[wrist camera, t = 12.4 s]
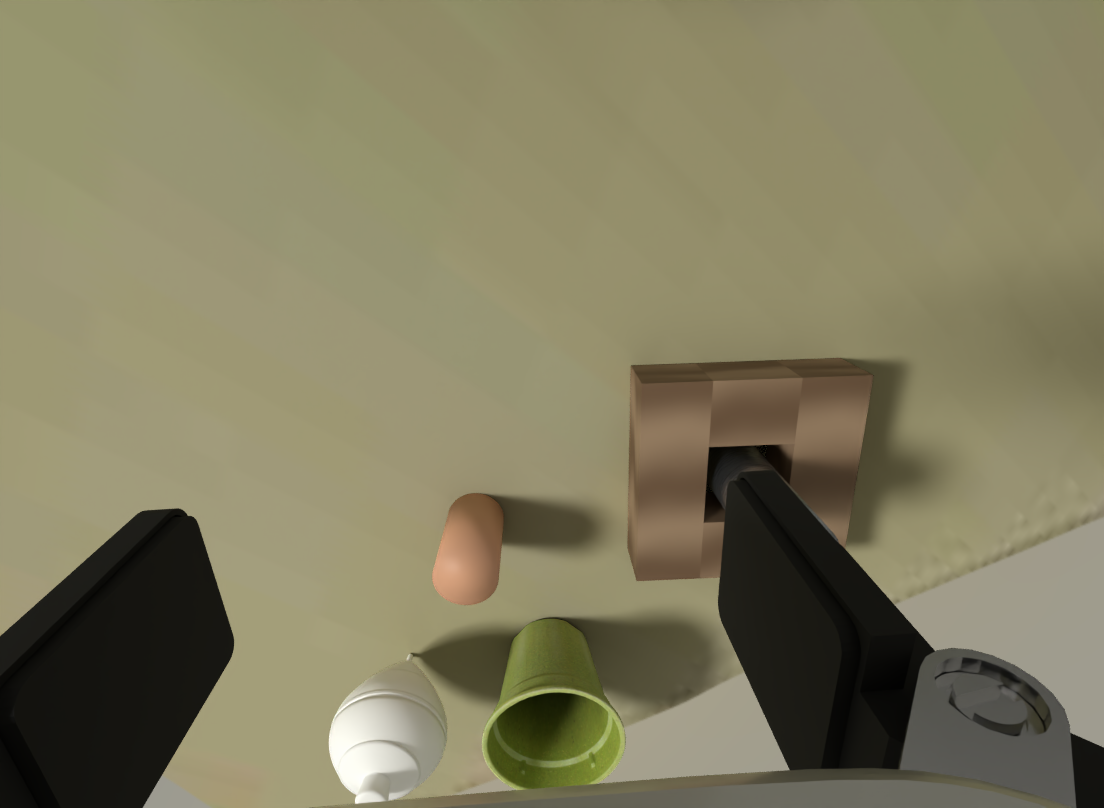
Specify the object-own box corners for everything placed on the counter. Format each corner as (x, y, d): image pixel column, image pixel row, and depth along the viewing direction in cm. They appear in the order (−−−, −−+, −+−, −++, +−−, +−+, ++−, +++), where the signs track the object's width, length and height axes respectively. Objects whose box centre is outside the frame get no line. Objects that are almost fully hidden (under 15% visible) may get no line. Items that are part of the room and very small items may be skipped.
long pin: (699, 432, 40) (766, 524, 29) (756, 430, 40) (845, 521, 29) (696, 484, 41) (758, 591, 30) (751, 482, 41) (834, 588, 30)
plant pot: (604, 592, 44) (620, 681, 36) (613, 687, 47) (630, 789, 39) (482, 606, 44) (471, 698, 36) (500, 700, 47) (493, 804, 39)
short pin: (445, 494, 41) (429, 550, 34) (502, 492, 41) (496, 548, 34) (450, 543, 42) (435, 606, 36) (505, 540, 42) (500, 603, 36)
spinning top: (475, 635, 45) (456, 781, 34) (436, 704, 47) (406, 863, 36) (382, 601, 44) (330, 741, 32) (347, 673, 46) (287, 828, 35)
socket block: (630, 365, 38) (641, 383, 34) (840, 358, 38) (873, 375, 35) (627, 547, 43) (636, 580, 39) (814, 539, 43) (841, 572, 39)
